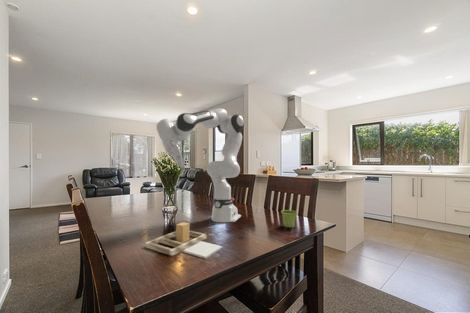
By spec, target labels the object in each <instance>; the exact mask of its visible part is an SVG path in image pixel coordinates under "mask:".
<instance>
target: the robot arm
mask: <svg viewBox="0 0 470 313" xmlns="http://www.w3.org/2000/svg"><path fill="white" fill-rule="evenodd" d="M201 123H202V125H203V126H204V127H205V128H207V129H213V128H217V130H218V132H219V133H221V134H227V137H226V140H225V142H224V144H223V147H222V149H221V154H222V156H223V159H222V160H213V161H211V162H208V164H207V165H206V173H207V175H208V176H210V178H211V181H212V184H213V191H214V192H213V193H214V194H213V195H214V198H213V206H212V212H211V215H210V218H211V221H212V222H216V223H235V222H236V221H238V219H239V220H240V218H241V217H242V215H241V214H239V213H238V207H237V206H235V205H234V204H233V202H234V201H235V198H234V197H232V187H231V185H230V184H229V183H228V181H227V180H226V179H231V178H233V179H234V178H236V177H238V176H239V175H240V173H241V167H240V165H239V162H238V159H237V156H238V154H239V151H240V148H241V145H242V141H243V135H242V131H243V130H244V126H245V118H244V117H243V115H241V114H233V115H230V116H229V115H228V112H227V110H225V109H224V108H221V107H220V108H214V109H210V110H208V109H207V110H202V111H197V112H192V113H191V112H190V113H189V112H185V113H184V112H182V113H180V114H179V115H178V116H177V119H176V122H174V121H171V120H170V119H168V118H164V119H161V120H160V121H158V123H157V124H156V130H157V134H158V135H159V138H160V140H161V142H162V145H163V147H164V150H165V151H166V153H168V154H169V155H170V156H171V157H172V159H173V160H174V162H175V163H176V165H177V167H180V169H181V171H182V172H185V171H186V168H185V162H184V159H183V155H182V147H183V145H182V143H181V142H182V141H186V140H187V138H189V136H190V135H191V133H192V131H193V129H194V128H195V126H197V125H198V124H201Z"/></svg>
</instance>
